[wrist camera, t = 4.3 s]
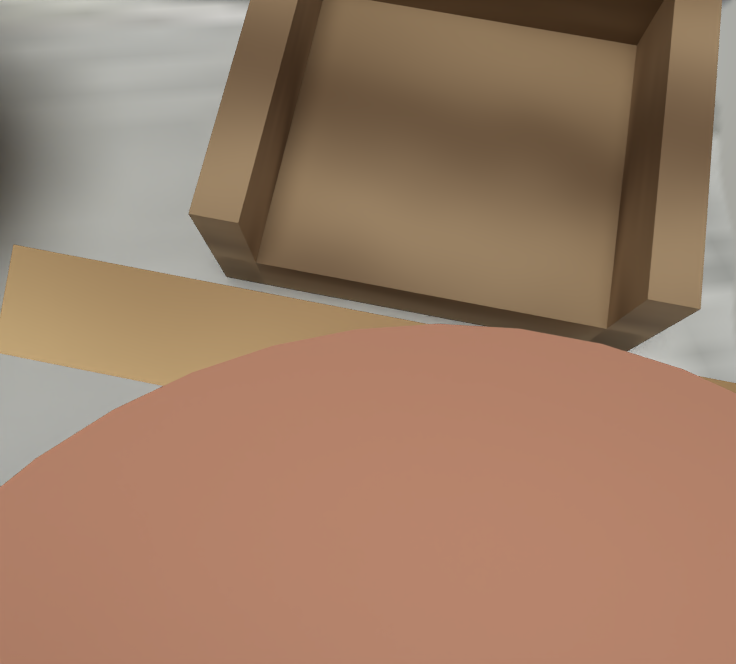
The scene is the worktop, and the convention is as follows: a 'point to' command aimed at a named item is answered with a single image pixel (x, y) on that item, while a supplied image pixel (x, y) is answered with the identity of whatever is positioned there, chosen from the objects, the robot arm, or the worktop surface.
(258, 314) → the brown wooden flat block
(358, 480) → the post
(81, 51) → the worktop surface
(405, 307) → the open wooden box
